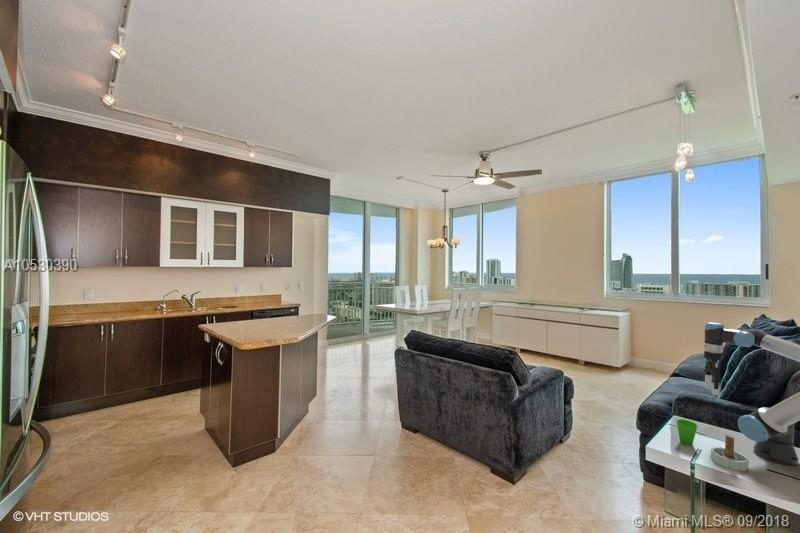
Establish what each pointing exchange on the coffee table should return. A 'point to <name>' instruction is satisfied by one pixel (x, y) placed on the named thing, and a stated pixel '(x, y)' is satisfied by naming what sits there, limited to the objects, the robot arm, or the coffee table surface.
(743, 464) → the pale green round dish
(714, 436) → the coffee table surface
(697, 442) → the coffee table surface
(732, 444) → the block
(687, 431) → the cup
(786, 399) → the robot arm
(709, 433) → the coffee table surface
